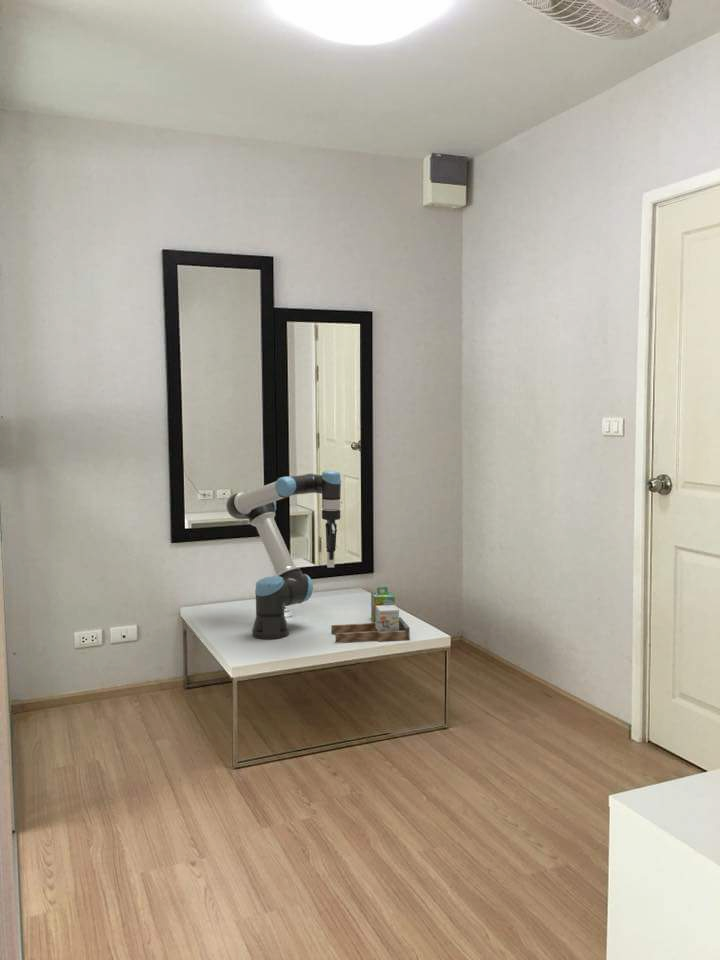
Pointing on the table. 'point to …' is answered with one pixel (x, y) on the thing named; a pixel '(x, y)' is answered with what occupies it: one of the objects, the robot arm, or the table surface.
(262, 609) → the robot arm
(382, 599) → the chalk box
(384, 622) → the ink box
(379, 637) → the brown low open piece
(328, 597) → the table surface
